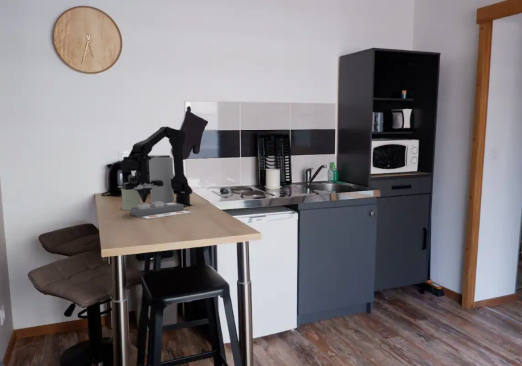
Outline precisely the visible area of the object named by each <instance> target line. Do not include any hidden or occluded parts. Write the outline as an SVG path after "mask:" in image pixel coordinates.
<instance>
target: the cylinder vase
mask: <svg viewBox="0 0 522 366" xmlns="http://www.w3.org/2000/svg"><path fill="white" fill-rule="evenodd" d="M150 158H151V160H148V172H150V174H149V181H150V182H151V180H162V181H163V186H160V187H157V186H156V185H155V186H151V188H153V189H151V190H150V192H149V193H150V203H151V202H157V201H161V202H164V204H165V203H173V202H175V194H174V192H173V189H172V186H171V179H173V177H174V161H173V157H171V156H169V157H168V156H160V157H159V156H158V157H150Z"/></svg>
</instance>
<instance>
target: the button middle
mask: <svg viewBox="0 0 522 366" xmlns="http://www.w3.org/2000/svg"><path fill="white" fill-rule="evenodd" d="M150 205H151V207H155V208H156V207H163V206H164V202H161V201H157V202H151V201H150Z"/></svg>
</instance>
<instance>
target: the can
mask: <svg viewBox="0 0 522 366" xmlns="http://www.w3.org/2000/svg"><path fill="white" fill-rule="evenodd" d="M120 187H121V201H122V204H121V205H122V206H121V207H122V210H123V211H131V208H134V207H138V204H141V197H140V195H139V193H138V192H137V190H134V189H131V190H125V189H122V186H120Z"/></svg>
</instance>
